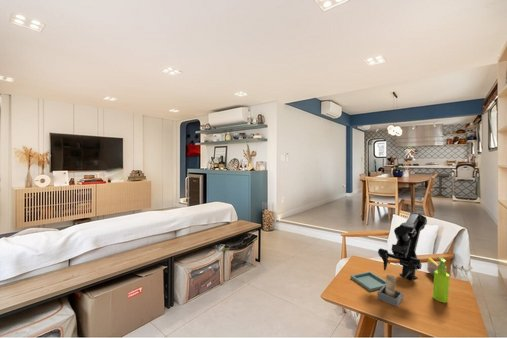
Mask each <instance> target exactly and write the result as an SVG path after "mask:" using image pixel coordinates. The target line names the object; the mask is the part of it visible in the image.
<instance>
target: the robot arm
mask: <svg viewBox="0 0 507 338" xmlns="http://www.w3.org/2000/svg"><path fill="white" fill-rule="evenodd" d="M427 224H428V219H427V217H426V216H424V215H422V214H421V213H420V212H414V211H412V212H410V214H409V216H408V218H407V220H406V221H405V222H402V223H401V224H400V225H399V226H397V227H395V228H394V230H393V233H394V235H395V238H396V243H394V244H393V243H392V244H391V249H390V250H391V252H392V253H391V252H389V250H388V249H383V248H378V250H377V251H378V252H377V254H378V255H379V257H380V258H381V260H383V271H386V270H387V267H388V263H389V258H391V259H394V260H398V261H399V265H400V266H402V269H401V273H399V275H400V276H401V277H403V278H405V279H407V280H409V281H411V280H416V279H418V276H416V271H418V270H421V269H422V261H421V259H420V258H418V255H417V253H416V250H417V247H418V242H419V239H420V233H421V231H422V230H424V229H425V226H426V225H427Z"/></svg>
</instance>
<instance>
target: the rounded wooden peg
mask: <svg viewBox="0 0 507 338" xmlns="http://www.w3.org/2000/svg"><path fill="white" fill-rule="evenodd" d="M385 281H386V294H385V295H388V296H390V297H393V298H395V290H396V285H397V277H396V276H394V275H391V274H387V275H386V278H385Z"/></svg>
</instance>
